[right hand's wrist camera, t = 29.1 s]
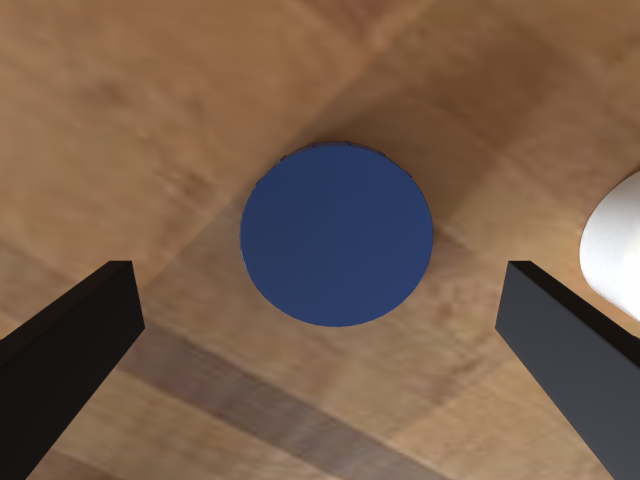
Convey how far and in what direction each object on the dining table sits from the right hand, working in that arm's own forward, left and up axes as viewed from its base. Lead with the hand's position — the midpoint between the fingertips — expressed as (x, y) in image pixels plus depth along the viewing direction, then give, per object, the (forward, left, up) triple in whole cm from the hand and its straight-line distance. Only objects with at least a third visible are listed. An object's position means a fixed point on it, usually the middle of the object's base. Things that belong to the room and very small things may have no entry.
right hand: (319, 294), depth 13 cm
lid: (0, -1, -6) cm, 6 cm away
